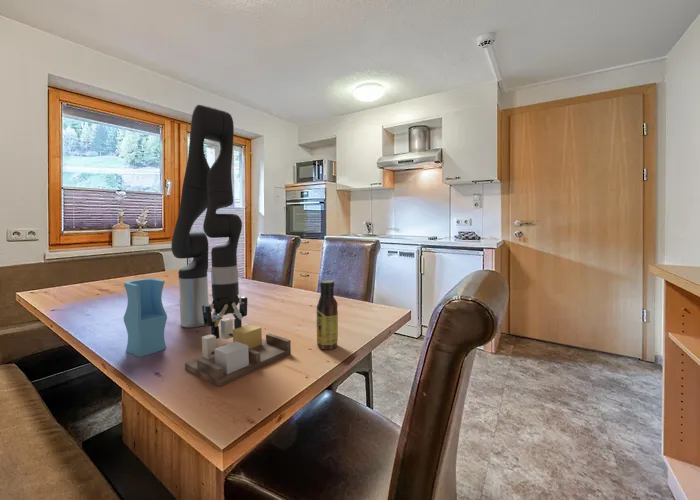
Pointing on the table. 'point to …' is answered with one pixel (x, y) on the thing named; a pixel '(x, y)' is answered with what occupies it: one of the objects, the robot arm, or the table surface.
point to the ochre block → (241, 333)
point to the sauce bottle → (327, 317)
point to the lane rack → (258, 358)
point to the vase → (145, 317)
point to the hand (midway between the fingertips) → (227, 334)
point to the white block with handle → (225, 354)
